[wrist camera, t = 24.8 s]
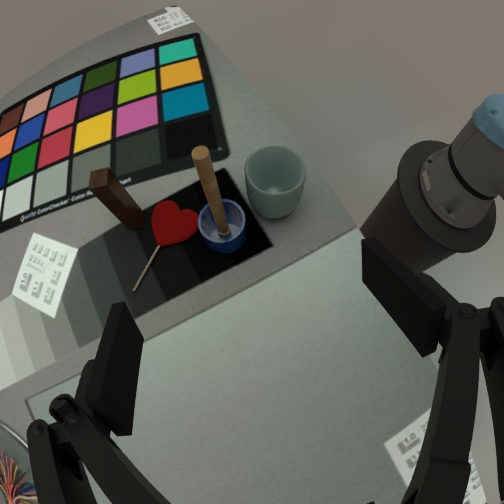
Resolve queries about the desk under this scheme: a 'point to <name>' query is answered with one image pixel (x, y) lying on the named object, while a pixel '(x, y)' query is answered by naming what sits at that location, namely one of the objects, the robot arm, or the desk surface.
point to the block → (116, 198)
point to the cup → (274, 180)
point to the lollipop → (171, 226)
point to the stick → (211, 188)
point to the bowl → (234, 219)
